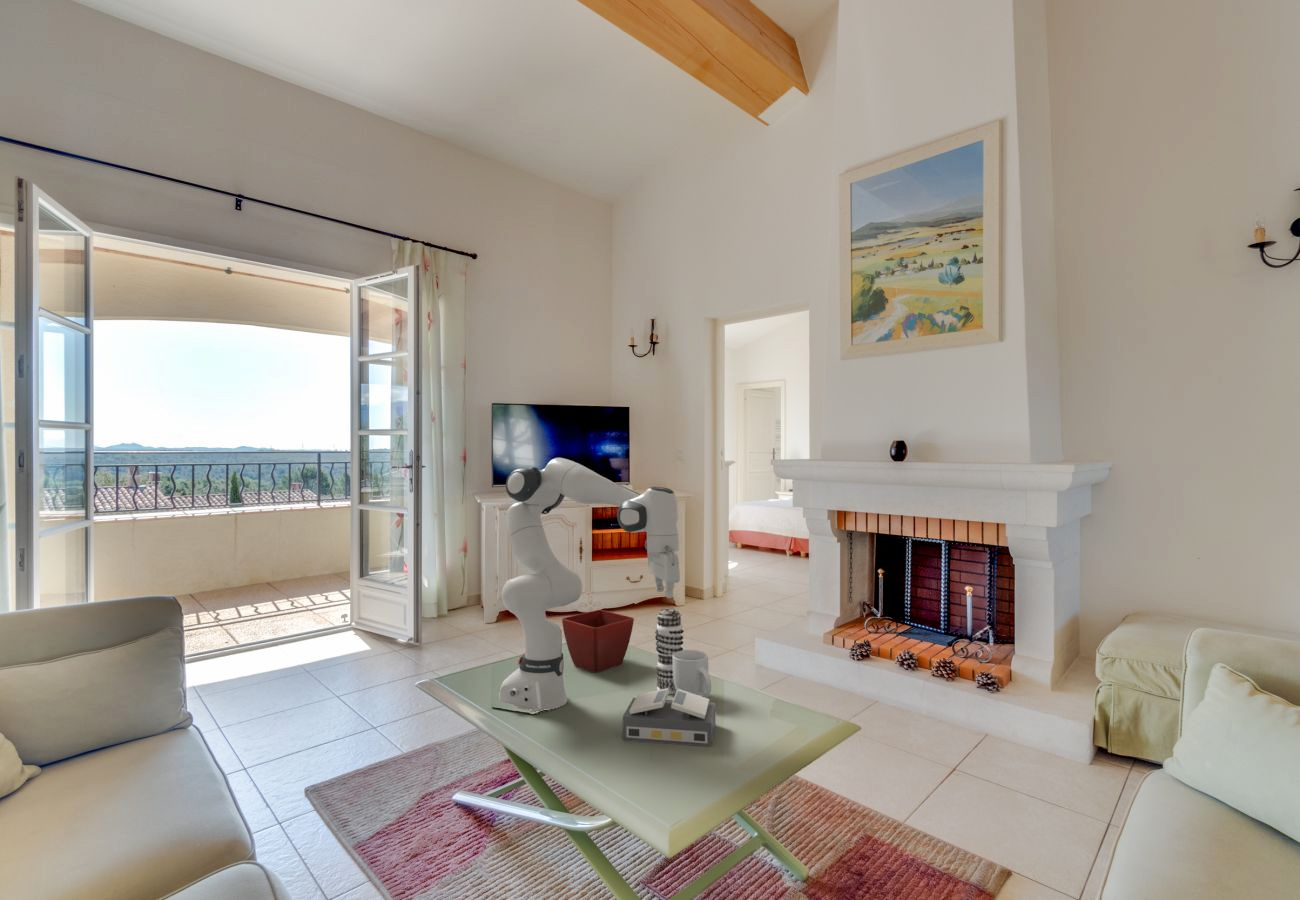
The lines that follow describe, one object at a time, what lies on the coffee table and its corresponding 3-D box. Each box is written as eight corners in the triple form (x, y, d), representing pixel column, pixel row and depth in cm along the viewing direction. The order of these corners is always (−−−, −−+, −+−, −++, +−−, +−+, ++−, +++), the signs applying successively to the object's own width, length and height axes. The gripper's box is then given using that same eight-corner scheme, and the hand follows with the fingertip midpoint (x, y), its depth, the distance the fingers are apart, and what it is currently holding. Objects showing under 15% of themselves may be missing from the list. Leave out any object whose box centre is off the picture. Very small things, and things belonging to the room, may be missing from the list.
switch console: (622, 740, 155) (622, 711, 156) (633, 719, 168) (633, 693, 169) (711, 747, 151) (711, 717, 151) (715, 724, 164) (715, 698, 164)
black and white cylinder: (686, 684, 195) (684, 607, 196) (682, 695, 186) (681, 613, 187) (658, 683, 196) (657, 606, 197) (653, 693, 187) (652, 612, 188)
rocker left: (630, 714, 156) (629, 710, 157) (638, 698, 167) (637, 694, 167) (662, 707, 155) (661, 703, 155) (669, 691, 166) (668, 687, 166)
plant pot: (635, 664, 216) (635, 617, 216) (595, 678, 202) (595, 627, 202) (600, 653, 229) (600, 609, 229) (560, 665, 215) (560, 618, 215)
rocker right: (670, 707, 155) (671, 703, 155) (676, 692, 165) (677, 688, 165) (704, 719, 153) (705, 715, 153) (708, 702, 164) (709, 698, 164)
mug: (724, 703, 179) (723, 659, 179) (695, 712, 173) (694, 666, 173) (693, 688, 191) (693, 647, 192) (665, 696, 185) (665, 653, 185)
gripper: (684, 547, 159) (686, 600, 158) (664, 540, 178) (665, 587, 178) (661, 549, 157) (663, 602, 156) (643, 542, 177) (645, 589, 176)
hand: (664, 594), depth 167 cm, fingers open, 8 cm apart
